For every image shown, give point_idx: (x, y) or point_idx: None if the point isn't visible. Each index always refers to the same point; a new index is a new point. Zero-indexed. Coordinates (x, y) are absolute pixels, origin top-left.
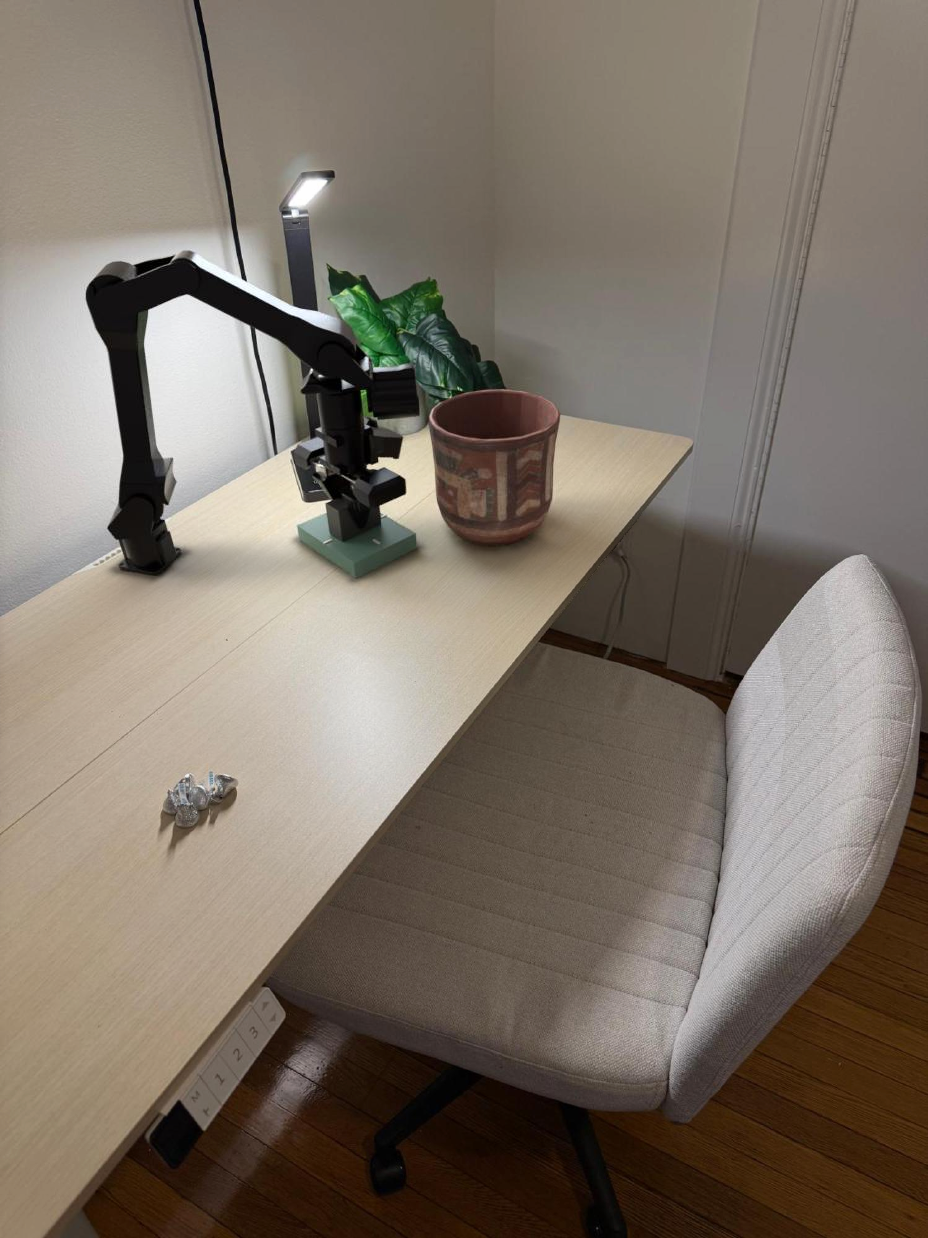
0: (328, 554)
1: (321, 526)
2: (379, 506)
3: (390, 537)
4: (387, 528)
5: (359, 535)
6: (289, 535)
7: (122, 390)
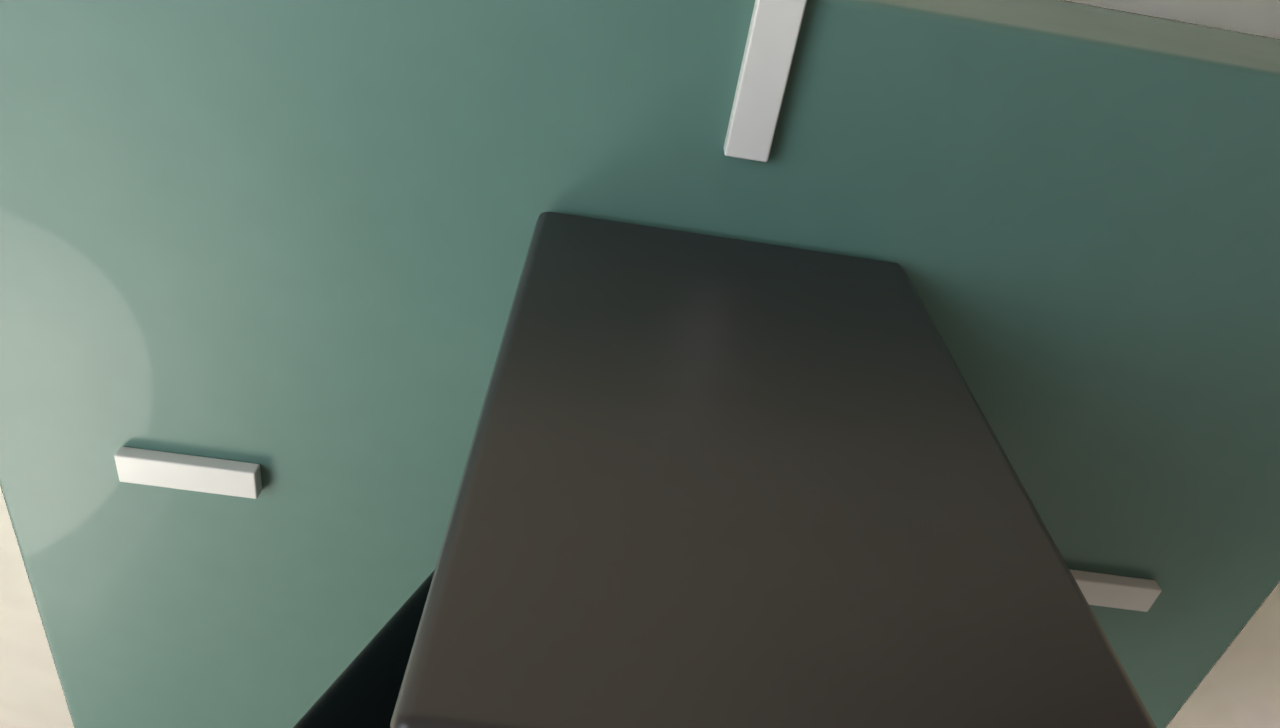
0: None
1: (282, 667)
2: (1016, 481)
3: (1224, 434)
4: (1058, 291)
5: None
6: (34, 610)
7: None
